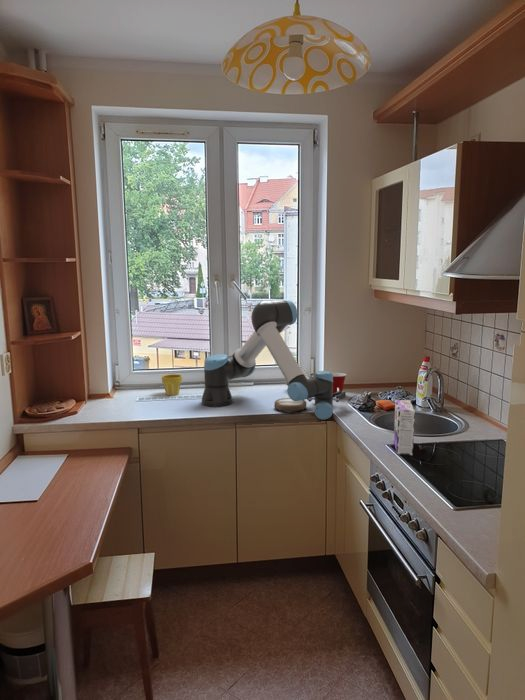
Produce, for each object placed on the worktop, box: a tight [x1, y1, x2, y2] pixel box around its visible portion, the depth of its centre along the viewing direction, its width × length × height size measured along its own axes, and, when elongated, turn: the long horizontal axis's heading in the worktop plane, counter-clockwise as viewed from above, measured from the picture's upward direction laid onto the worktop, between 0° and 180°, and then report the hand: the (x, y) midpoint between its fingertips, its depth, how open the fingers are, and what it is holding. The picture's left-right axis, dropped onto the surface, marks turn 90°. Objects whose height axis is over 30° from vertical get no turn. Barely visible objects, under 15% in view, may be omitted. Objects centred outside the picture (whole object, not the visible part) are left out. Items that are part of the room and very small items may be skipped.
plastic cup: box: [331, 372, 347, 393], centre depth 251 cm, size 11×11×12 cm
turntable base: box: [277, 409, 304, 413], centre depth 232 cm, size 12×12×1 cm
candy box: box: [393, 399, 416, 456], centre depth 179 cm, size 14×6×16 cm, turn 169°
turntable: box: [274, 397, 307, 412], centre depth 231 cm, size 15×15×2 cm
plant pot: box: [161, 373, 183, 396], centre depth 259 cm, size 10×10×10 cm
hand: (323, 390), depth 237 cm, fingers open, 13 cm apart
